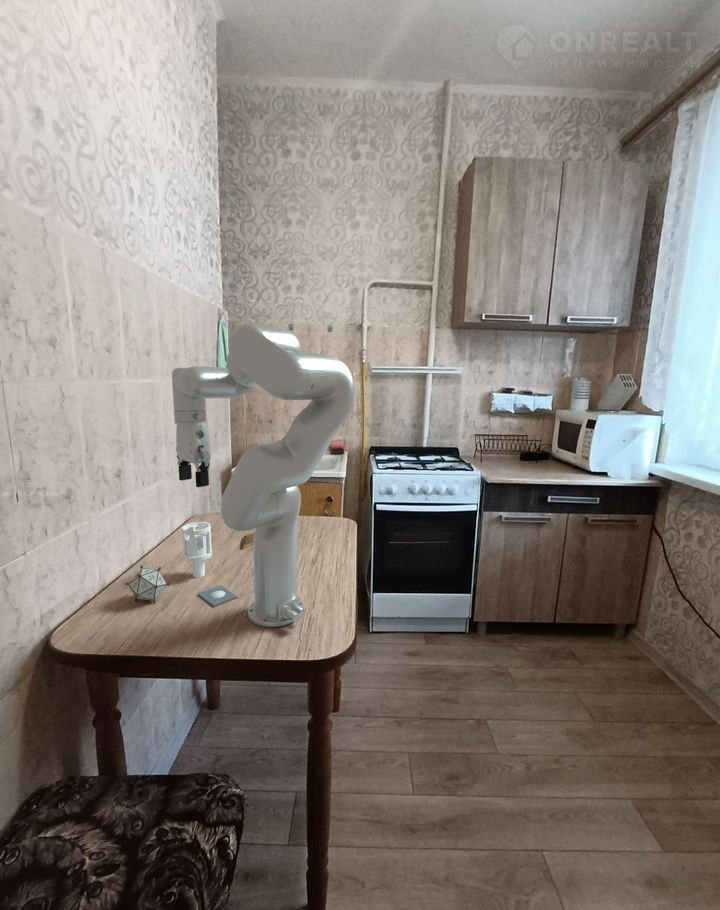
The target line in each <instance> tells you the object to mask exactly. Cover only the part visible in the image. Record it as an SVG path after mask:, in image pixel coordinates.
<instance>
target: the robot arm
mask: <svg viewBox="0 0 720 910" xmlns="http://www.w3.org/2000/svg"><path fill="white" fill-rule="evenodd" d="M227 347H228V348H227V350H228V352H227V353H228V354H227V357H226V367H221V366H190V367H176V368H174V369H172V372H171V380H172V381H171V383H172V385H171V386H172V398H173V399H172V400H173V401H172V402H173V417H174V424H176V436H175V438H176V440H175V443H176V444H175V445H176V447H175V450H176V454H177V455H176V458H177V465H178V480H179V481H187V480H192V478H193V476H192V474H193V473H192V471H193V470H192V464H194V467H195V470H196V471H195V475H194V476H195V487H196V488H202V487H209V485H210V478H209V477H210V476H209V474H210V473H209V470H210V465H211V463H210V462H211V460H212V459H211V458H212V457H211V443H210V436H209V431H208V430H209V429H208V425H207V410H206V409H207V406H206V405H207V404H206V399H209V400H210V399H232V398H237V397H240V396H242V395H245V394H247V393H249V392H251V391H254V389H255V388H256V386H259V387H260V388H261V389H263V390H264V391H265V392H266V393H268V394H269V395H271V396H273V397H274V398H276V399H280V400H283V401H308V400H310V401H309V403H308V404H307V405H306V406H305V407H304V408H303V409H302V410H301V411H300V412H298V414H297V415H296V416H295V418H293V420H292V422H291V424H290V426H289V428H288V430H287V432H286V433H285V435H284V436H283V437H282V439H280V440H277V441H273V442H266V443H261V444H256V445H254V446H252V447H250V448H248V449H247V450H246V451H244V452H243V454H242V455H241V457H240V458H239V460H238V462H237V464H236V466H235V468H234V470H233V471H232V474H231V477H230V479H229V481H228V482H227V484H226V487H225V490H224V491H223V494H222V497H221V500H220V501H221V502H220V514H221V518H222V520H223V522H224V524H225V525H226V527H228V528H229V529H230V530H232V531H235V532H247V531H252V530H254V532H255V533H254V532H253V533H254V538H253V545H252V549H253V550H252V551H253V552H252V555H253V556H252V557H253V561H252V562H253V585H254V586H253V587H254V588H253V590H254V601H253V602H252V603H251V604H250V605H249V606H248V608H247V616H248V619H249V621H251V622H252V623H253V624H255V625H257V626H261V627H266V628H274V627H275V628H277V627H283V626H286V625H290V624H293V623H294V624H297V623H299V622H300V620H301V617H302V616H303V615H304V614H305V612H306V609H305V604H304V602H303V601H302V599H301V598H300V596H298V554H297V553H298V550H297V547H298V542H297V540H298V537H297V536H298V534H297V533H298V521H299V514H300V511H301V504H302V496H301V491H300V490H301V489H300V488H299V486H301V485H303V484H304V483H306V482H307V481H309V479H310V478H311V477H312V475H313V474H314V472H315V470H316V469H317V467H318V466H319V464H320V462H321V460H322V459H323V457H324V456H325V454H326V452H327V450H328V449H329V446H330V444H331V442H332V441H333V439H334V438H335V437H336V435H337V434H338V432H339V430H340V429H341V428H342V426H343V425H344V423H345V422H346V420H347V418H348V416H349V414H350V413H351V410H352V407H353V404H354V399H355V383H354V379H353V375H352V372H351V371H350V369H349V368H348V366H347V365H346V364H345V363H344V362H343V361H341V360H340V359H339V358H336V357H334V356H331V355H326V354H319V353H318V354H317V353H309V352H302V347H301V343H300V341H299V339H298V338H297V336H296V335H295V334H294V333H292V332H291V331H288V330H287V329H284V328H280V327H275V326H274V327H273V326H268V325H260V324H255V323H247V324H241V325H240V326H238V327H237V328H235V330H233V331H232V332H231V335H230V337H229V340H228V346H227Z"/></svg>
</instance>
